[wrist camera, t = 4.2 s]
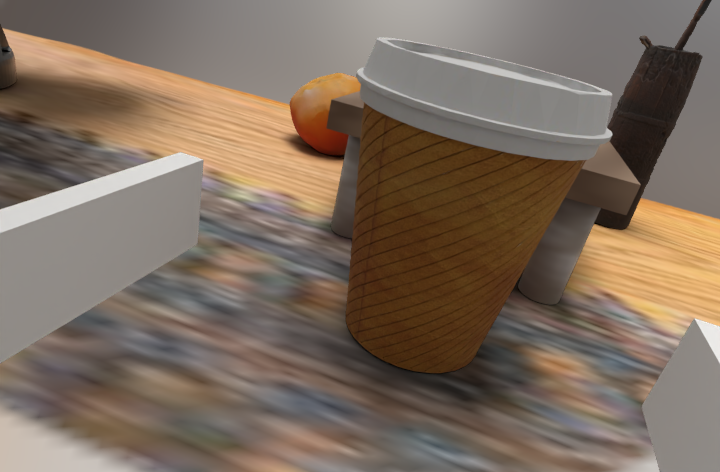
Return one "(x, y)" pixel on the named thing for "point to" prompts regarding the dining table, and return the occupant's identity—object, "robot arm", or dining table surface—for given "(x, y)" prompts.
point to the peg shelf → (564, 234)
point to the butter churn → (651, 111)
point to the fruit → (321, 111)
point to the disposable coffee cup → (456, 193)
